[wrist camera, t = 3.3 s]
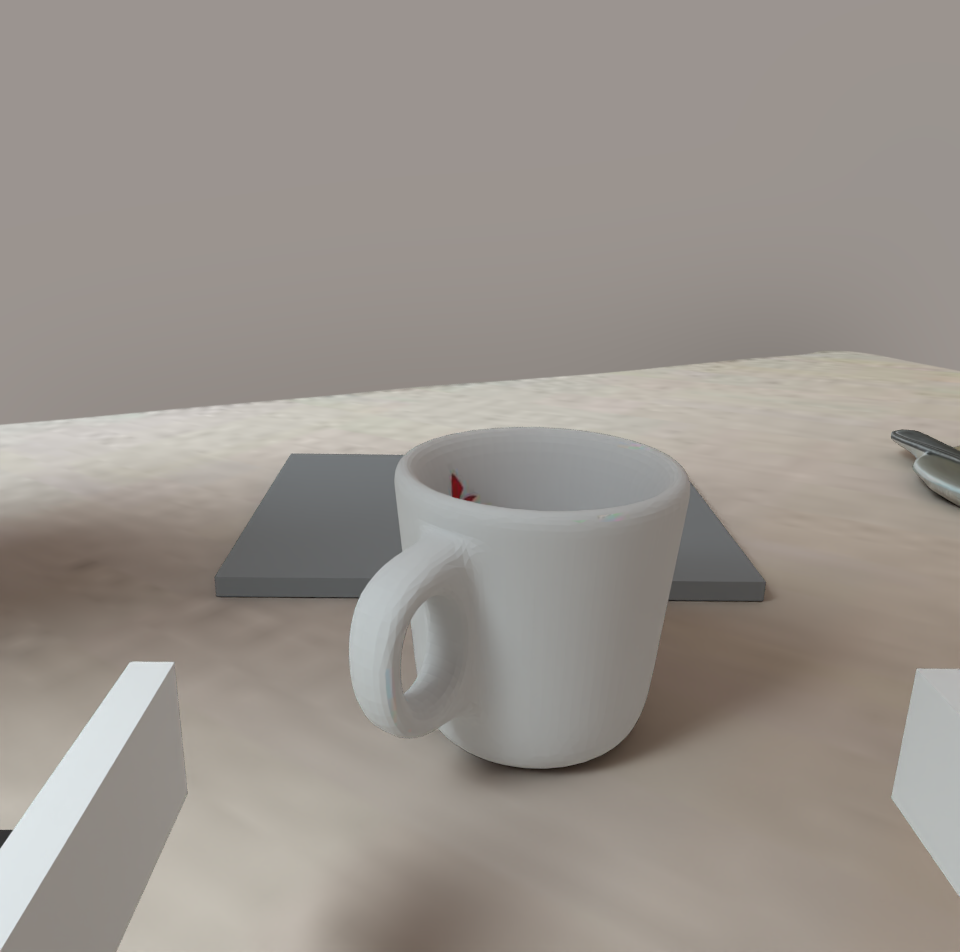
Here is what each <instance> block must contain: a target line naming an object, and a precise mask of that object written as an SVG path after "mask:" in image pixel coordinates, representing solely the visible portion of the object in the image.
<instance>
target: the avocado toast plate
mask: <svg viewBox="0 0 960 952" xmlns="http://www.w3.org/2000/svg"><path fill="white" fill-rule="evenodd" d="M891 439H892V440H893V441H894V442H896V443H897V444H898V445H900V446H901V447H903V448H904V449H906V450H907V451H909V452H910V453H912V454H913V455H914V456H915V457H916V458H917V459H916V461H915V463H914V464H913V466H912V467H913V470H914V471H915V472H916V473H917V475H918V476H919V477H920V478H921V479H922V480H923V481H924V482H925V483H926V485H927V486H928V487H929V488H930V489H931V490H933V491H934V492H936V493H937V494H939V495H941V496H942V497H944V498H946V499H947V500H949V501H951V502H952V503H954V504H956V505H957V506H959V507H960V446H957V447H951V446H948V445H946V444H944V443H942V442H940V441H938V440H936V439H934V438H932V437H930V436H928V435H926V434H923V433H921V432H919V431H914V430H897V431H893V432H892V434H891Z"/></svg>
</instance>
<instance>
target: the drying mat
mask: <svg viewBox="0 0 960 952" xmlns="http://www.w3.org/2000/svg"><path fill="white" fill-rule="evenodd" d="M403 456H404V455H364V454H291V455H290V456H289V458H288V460H287V461H286V463H285V464H284V466H283V468H282V469H281V471H280V473H279V474H278V476H277V477H276V479H275V481H274V482H273V484H272V485H271V487H270V489H269V490H268V492H267V493H266V495H265V497H264V498H263V500H262V502H261V503H260V505H259V506H258V508H257V510H256V511H255V513H254V514H253V516H252V518H251V519H250V521H249V522H248V524H247V526H246V527H245V529H244V531H243V532H242V534H241V535H240V537H239V539H238V540H237V542H236V543H235V545H234V547H233V548H232V550H231V551H230V553H229V555H228V556H227V558H226V560H225V561H224V563H223V564H222V566H221V568H220V569H219V571H218V572H217V574H216V576H215V587H216V596H249V597H360V595H361V593H362V592H363V590H364V589H365V587H366V585H367V584H368V582H369V581H370V580H371V579H372V578H373V576H374V575H375V574H376V573H377V572H378V571H379V570H380V569H381V568H382V567H383V566H384V565H385V564H386V563H387V562H389V561H390V560H391V559H393V558H394V557H395V556H397V555H398V554H400V553H401V552H402V544H401V536H400V527H399V519H398V511H397V502H396V494H395V483H394V478H395V470H396V467H397V465H398V463H399V461H400V460H401V458H402V457H403ZM689 482H690V481H689ZM765 585H766V582H765V580H764V579H763V578H762V576H761V575H760V574H759V572H758V571H757V570H756V568H755V567H754V566H753V564H752V563H751V562H750V560H749V559H748V558H747V556H746V555H745V554H744V552H743V551H742V550H741V548H740V547H739V546H738V544H737V543H736V542H735V541H734V539H733V538H732V537H731V535H730V534H729V533H728V531H727V530H726V529H725V527H724V526H723V525H722V523H721V522H720V521H719V519H718V518H717V517H716V515H715V514H714V513H713V511H712V510H711V509H710V507H709V506H708V505H707V504H706V502H705V501H704V500H703V498H702V497H701V496H700V494H699V493H698V492H697V490H696V489H695V488H694V486H693V485H692V484H691V482H690V498H689V503H688V508H687V512H686V517H685V522H684V527H683V532H682V536H681V541H680V546H679V551H678V556H677V560H676V565H675V570H674V575H673V579H672V584H671V589H670V594H669V599H668V600H724V601H763V600H764V592H765Z"/></svg>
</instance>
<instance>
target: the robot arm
mask: <svg viewBox="0 0 960 952" xmlns="http://www.w3.org/2000/svg"><path fill="white" fill-rule="evenodd" d="M187 794H188V792H187V782H186V772H185V762H184V752H183V742H182V732H181V722H180V712H179V702H178V692H177V682H176V672H175V662H130V663H129V664H128V666H127V667H126V669H125V670H124V671H123V673H122V674H121V676H120V677H119V679H118V680H117V682H116V683H115V684H114V686H113V687H112V689H111V690H110V692H109V693H108V694H107V696H106V697H105V699H104V700H103V702H102V703H101V705H100V706H99V707H98V709H97V710H96V712H95V713H94V715H93V716H92V717H91V719H90V720H89V722H88V723H87V725H86V726H85V728H84V729H83V730H82V732H81V733H80V735H79V736H78V738H77V739H76V740H75V742H74V743H73V745H72V746H71V748H70V749H69V751H68V752H67V753H66V755H65V756H64V758H63V759H62V761H61V762H60V763H59V765H58V766H57V768H56V769H55V771H54V772H53V774H52V775H51V776H50V778H49V779H48V781H47V782H46V784H45V785H44V787H43V788H42V789H41V791H40V792H39V794H38V795H37V797H36V798H35V799H34V801H33V802H32V804H31V805H30V807H29V808H28V810H27V811H26V812H25V814H24V815H23V817H22V818H21V820H20V821H19V822H18V824H17V825H16V827H15V828H14V830H0V952H116V951H117V949H118V947H119V945H120V942H121V940H122V938H123V936H124V934H125V931H126V929H127V927H128V925H129V923H130V920H131V918H132V916H133V914H134V911H135V909H136V907H137V905H138V903H139V900H140V898H141V896H142V894H143V892H144V889H145V887H146V885H147V883H148V880H149V878H150V876H151V874H152V872H153V869H154V867H155V865H156V863H157V861H158V858H159V856H160V854H161V852H162V850H163V847H164V845H165V843H166V841H167V838H168V836H169V834H170V832H171V830H172V827H173V825H174V823H175V821H176V819H177V816H178V814H179V812H180V810H181V808H182V805H183V803H184V801H185V799H186V796H187ZM891 798H892V800H893V801H894V803H895V804H896V806H897V807H898V808H899V810H900V811H901V813H902V814H903V816H904V817H905V819H906V820H907V822H908V823H909V824H910V826H911V827H912V829H913V830H914V832H915V833H916V835H917V836H918V838H919V839H920V840H921V842H922V843H923V845H924V846H925V848H926V849H927V851H928V852H929V854H930V855H931V856H932V858H933V859H934V861H935V862H936V864H937V865H938V867H939V868H940V869H941V871H942V872H943V874H944V875H945V877H946V878H947V880H948V881H949V883H950V884H951V885H952V887H953V888H954V890H955V891H956V893H957V894H958V896H959V897H960V669H916V674H915V679H914V684H913V689H912V694H911V700H910V705H909V710H908V715H907V720H906V725H905V730H904V735H903V740H902V745H901V750H900V755H899V761H898V766H897V771H896V776H895V781H894V786H893V791H892V796H891Z"/></svg>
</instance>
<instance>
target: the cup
mask: <svg viewBox="0 0 960 952" xmlns="http://www.w3.org/2000/svg"><path fill="white" fill-rule="evenodd" d="M394 483H395V494H396V502H397V511H398V519H399V527H400V536H401V544H402V552H401V553H400V554H398V555H397V556H395V557H394V558H393V559H391V560H390V561H389V562H387V563H386V564H385V565H384V566H383V567H382V568H381V569H380V570H379V571H378V572H377V573H376V574H375V575H374V576H373V578H372V579H371V580H370V581H369V582H368V584H367V585H366V587H365V589H364V590H363V592H362V593H361V595H360V598H359V600H358V602H357V605H356V607H355V610H354V614H353V618H352V622H351V629H350V637H349V664H350V675H351V680H352V685H353V690H354V693H355V696H356V699H357V701H358V703H359V705H360V707H361V709H362V711H363V712H364V714H365V716H366V717H367V718H368V719H369V720H370V722H371V723H372V724H374V725H375V726H377V727H378V728H380V729H382V730H383V731H385V732H388V733H390V734H392V735H394V736H396V737H399V738H409V739H410V738H417V737H421V736H424V735H426V734H429V733H431V732H433V731H434V730H436V729H439V730H440V731H441V732H442V733H443V734H444V735H445V736H446V737H447V738H448V739H449V740H450V741H452V742H453V743H455V744H456V745H458V746H459V747H460V748H462V749H463V750H465V751H467V752H469V753H471V754H473V755H475V756H478V757H480V758H482V759H485V760H488V761H491V762H495V763H498V764H502V765H507V766H513V767H520V768H539V769H546V768H557V767H566V766H570V765H574V764H579V763H583V762H586V761H589V760H591V759H594V758H596V757H599V756H601V755H603V754H605V753H606V752H608V751H609V750H611V749H613V748H614V747H615V746H617V745H618V744H619V743H620V742H621V741H622V740H623V739H624V738H625V737H626V736H627V735H628V734H629V733H630V731H631V730H632V729H633V727H634V726H635V724H636V722H637V720H638V719H639V717H640V715H641V713H642V710H643V707H644V705H645V702H646V699H647V695H648V692H649V688H650V683H651V679H652V675H653V670H654V666H655V661H656V656H657V651H658V646H659V642H660V637H661V632H662V627H663V622H664V618H665V613H666V608H667V603H668V599H669V594H670V589H671V584H672V579H673V575H674V570H675V565H676V560H677V556H678V551H679V546H680V541H681V536H682V532H683V527H684V522H685V517H686V512H687V508H688V503H689V498H690V482H689V478H688V475H687V473H686V472H685V470H684V469H683V467H682V466H681V465H680V464H679V463H678V462H677V461H676V460H674V459H673V458H672V457H670V456H669V455H667V454H665V453H663V452H661V451H659V450H657V449H655V448H652V447H650V446H647V445H644V444H641V443H638V442H635V441H632V440H628V439H624V438H620V437H616V436H611V435H606V434H600V433H595V432H589V431H580V430H572V429H561V428H544V427H509V428H491V429H481V430H472V431H467V432H461V433H455V434H450V435H446V436H443V437H439V438H435V439H432V440H430V441H427V442H425V443H422V444H420V445H418V446H416V447H414V448H413V449H411V450H410V451H408V452H407V453H406V454H405V455H404V456H403V457H402V458H401V460H400V461H399V463H398V465H397V467H396V470H395V478H394ZM410 621H411V629H412V638H413V646H414V655H415V663H416V670H417V676H418V677H417V678H416V680H415V682H414V683H413V684H412V686H411V687H410V688H409V689H408V691H407V692H405V693H404V694H403V690H402V683H401V655H402V648H403V641H404V638H405V634H406V631H407V628H408V626H409V623H410Z"/></svg>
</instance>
